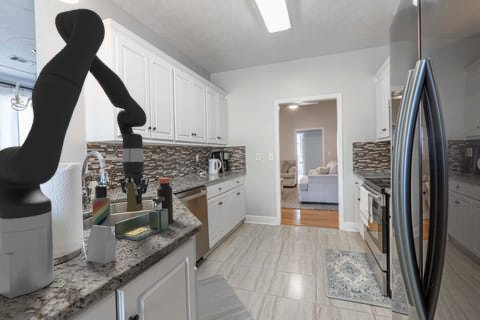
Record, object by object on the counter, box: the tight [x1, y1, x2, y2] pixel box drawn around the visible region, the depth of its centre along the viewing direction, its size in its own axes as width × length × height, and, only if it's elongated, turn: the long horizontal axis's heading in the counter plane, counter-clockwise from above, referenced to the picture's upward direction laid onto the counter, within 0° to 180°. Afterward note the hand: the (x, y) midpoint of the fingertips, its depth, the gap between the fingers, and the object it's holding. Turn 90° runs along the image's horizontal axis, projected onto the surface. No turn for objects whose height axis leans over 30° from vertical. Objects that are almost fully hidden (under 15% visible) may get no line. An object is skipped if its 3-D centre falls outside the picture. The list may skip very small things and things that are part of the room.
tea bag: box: [86, 224, 117, 265], centre depth 68 cm, size 4×7×10 cm, turn 71°
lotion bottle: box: [91, 184, 112, 228], centre depth 86 cm, size 6×6×20 cm
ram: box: [151, 196, 164, 211], centre depth 96 cm, size 5×5×8 cm
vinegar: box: [156, 177, 174, 223], centre depth 108 cm, size 7×7×20 cm
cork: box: [126, 182, 144, 213], centre depth 90 cm, size 6×6×11 cm
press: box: [114, 208, 170, 242], centre depth 92 cm, size 16×12×8 cm
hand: (134, 204), depth 90 cm, fingers closed on cork, 3 cm apart
